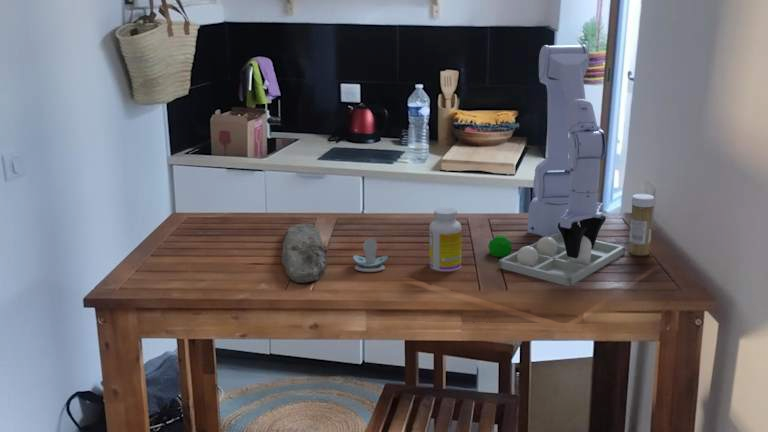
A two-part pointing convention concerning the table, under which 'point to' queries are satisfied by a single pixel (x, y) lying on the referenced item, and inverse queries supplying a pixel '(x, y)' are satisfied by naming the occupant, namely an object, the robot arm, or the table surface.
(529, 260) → the cream egg front
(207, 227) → the table surface
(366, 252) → the pacifier
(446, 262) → the supplement bottle
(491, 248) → the polyhedron
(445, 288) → the table surface
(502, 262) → the egg tray
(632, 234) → the sprinkles bottle
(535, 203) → the robot arm
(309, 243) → the long grey stone
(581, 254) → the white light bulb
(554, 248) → the cream egg middle
